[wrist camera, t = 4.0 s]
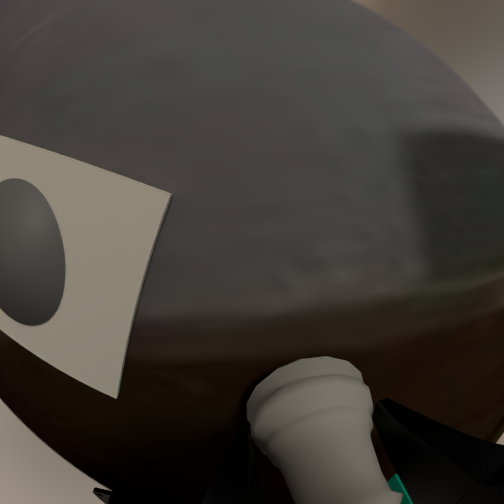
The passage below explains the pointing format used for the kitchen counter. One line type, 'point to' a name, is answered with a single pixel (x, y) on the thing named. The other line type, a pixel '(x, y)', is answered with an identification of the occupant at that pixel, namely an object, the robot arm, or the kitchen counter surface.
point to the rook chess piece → (320, 432)
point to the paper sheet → (73, 259)
